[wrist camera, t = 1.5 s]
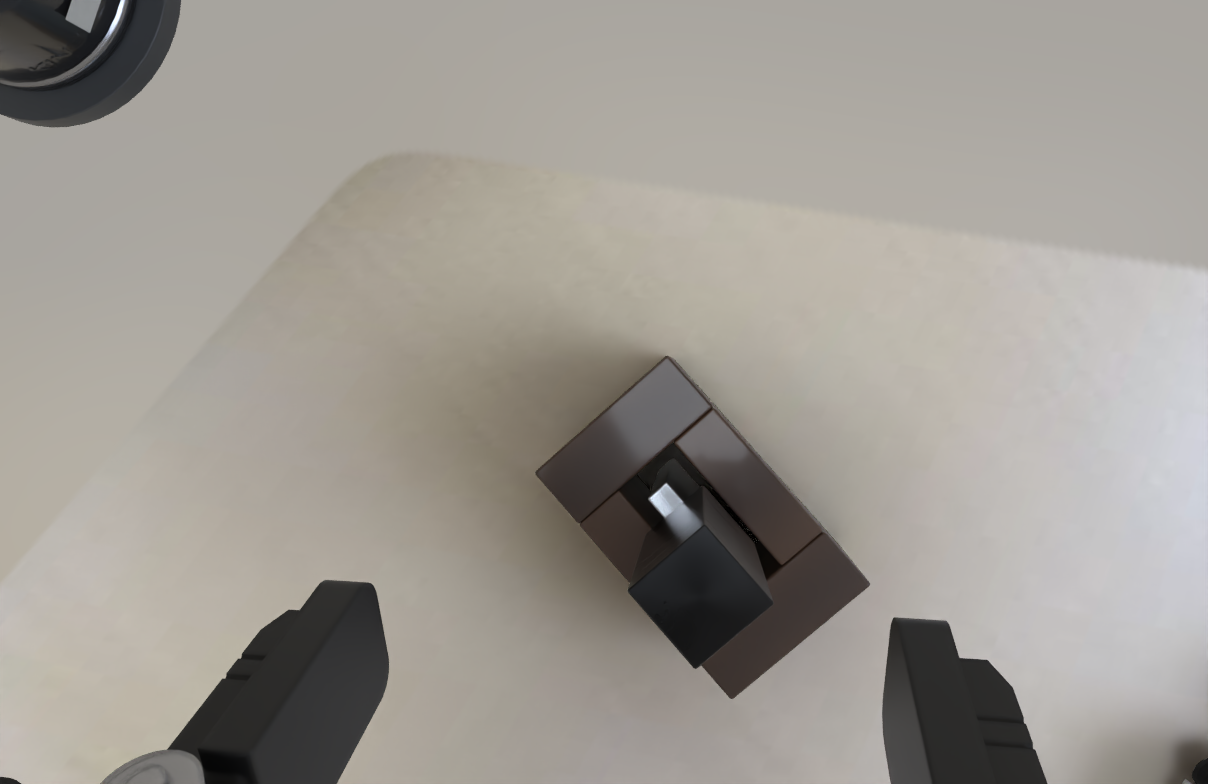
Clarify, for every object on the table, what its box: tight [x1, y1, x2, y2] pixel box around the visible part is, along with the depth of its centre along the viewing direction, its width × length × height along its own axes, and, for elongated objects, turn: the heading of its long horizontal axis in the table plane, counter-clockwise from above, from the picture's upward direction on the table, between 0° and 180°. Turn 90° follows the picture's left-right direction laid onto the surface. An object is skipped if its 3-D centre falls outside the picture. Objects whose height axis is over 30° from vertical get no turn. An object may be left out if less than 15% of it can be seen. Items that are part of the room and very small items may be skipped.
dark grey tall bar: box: [628, 458, 774, 669], centre depth 28 cm, size 4×2×15 cm, turn 41°
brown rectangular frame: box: [535, 356, 870, 699], centre depth 32 cm, size 10×6×6 cm, turn 42°
